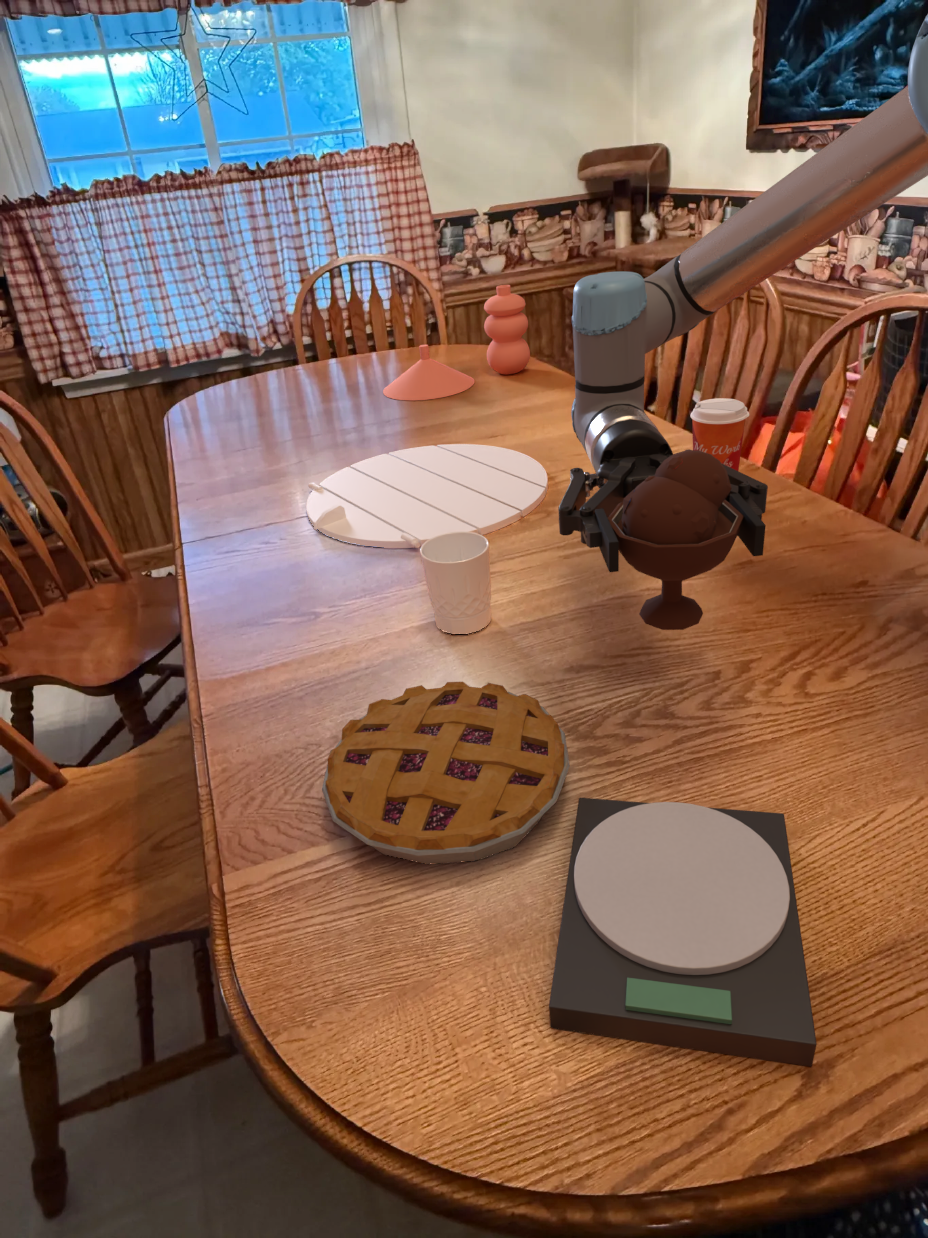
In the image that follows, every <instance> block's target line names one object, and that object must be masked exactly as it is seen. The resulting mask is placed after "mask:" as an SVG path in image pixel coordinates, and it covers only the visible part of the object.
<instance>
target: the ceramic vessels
mask: <svg viewBox="0 0 928 1238" xmlns="http://www.w3.org/2000/svg"><path fill="white" fill-rule="evenodd" d="M495 288H496V289H495V290H496V294H495V295H493V296H491V297H489V298H488V299H487V300H486V301H485V302H484V306H483V310H484V311H485V312H486V314H487V315H488V316H487V317H486V319H485V320H484V325H483V328H484V332H485V334H486V336H487V337H489V338H490V339H492V340H491V342H490V343H489V345H488V346H487V350H486V360H487V363H488V365H489V367H490V368H491V369H492V370H493V371H495V373H498V374H499V375H514V374H517V373H520V372H521V371H522V370H523V369H524V368H526V366H527V365H528V363H529V362H530V358H531V350H530V347H529V344H528V342H527V341H526V340H525V339H524V338H523V335H524V334H525V333H526V332H527V330H528V328H529V319H528V317H527V315H526V314H525V313H523V312H522V311H524V309H525V306H526V305H527V304H526V300H525V298H523V296H521V295H520V294H516V293H512V291H511V285H510V284H501V285H497V286H496V287H495ZM418 348H419V349H418V351H419V355H420V359H419V360H418V361H417V362H415V363H414V364H413V365H412V366H410V367H409V368H408V369H407V370H405V371H404V372H403V373H402V374H399V376H398V377H397V378H395V379H394V380H393V381H392V382H390V383H389V384H387V386H385V387H384V389H383V391H382V393H383V395H384V396H385V397H387V398H389V399H393V400H397V401H425V400H426V401H427V400H436V399H441V398H446V397H450V396H453V395H456V394H460V393H462V392H464V391H467V390H469V389H470V388H472V387H473V386H474V384H475V383H476V382H475V379H474V378H473V377H471V376H470V375H467V374H465V373H463V372H461V371H459V370H457V369H455V368H453V367H451V366H448V365H446V364H444V363H442V362H440V361H437V360H435V359H433V358H431V357H430V348H429V344H420V345H419V346H418Z"/></svg>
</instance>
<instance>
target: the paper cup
mask: <svg viewBox="0 0 928 1238" xmlns="http://www.w3.org/2000/svg"><path fill="white" fill-rule="evenodd" d="M689 415H690V418H691V420H692V450H699V451H702V452H705V453H708V454H711V455H712V456H714V457H715V458H716V459H718V460H719V461H720V462H721V463H722V464H724V465H726V466H728V467H730V468H732V469H735V470H737V471H739V470H740V462H741V455H742V448H743V440H744V432H745V426H746V419H747V418H748V417H750V412H749V411H748V407H747V406H745V403H744V402H743V401H740V400H738V399H734V398H727V397H726V398H725V397H724V398H723V397H721V398H718V397H717V398H709V399H703V400H701V401H698V402H696V404H695V406H694V408H693V410H692V411H691V412H690V414H689Z"/></svg>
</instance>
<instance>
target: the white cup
mask: <svg viewBox="0 0 928 1238" xmlns="http://www.w3.org/2000/svg"><path fill="white" fill-rule="evenodd" d="M419 548H420V549H419V554H420V559H421V564H422V568H423V573H424V578H425V583H426V584H425V585H426V589H427V592H428V593H427V594H428V598H429V601H430V605H431V607H432V612H433V617H434V621H435V622H434V623H435V627H437V626H438V627H439V628H440V629H441V630H444V631H447V632H450V633H455V634H459V633H460V634H466V633H470V632H476V631H478V630H480V629H482V628H484V627H485V626H487V625H489V624H490V622H491V621H492V605H491V604H492V602H491V600H492V577H491V560H490V559H491V558H490V542H489V540H488V538H486V537H485V536H484V535H480V534H477V533H473V532H450V533H445V534H441V535H438V536H435V537H433V538H431V539H429V540H428V541H426V542H425V543H424V544H423V545H422V546H420V547H419ZM438 627H437V628H438ZM487 627H488V626H487ZM439 628H438V629H439ZM485 628H486V627H485ZM485 628H484V629H485ZM440 629H439V630H440ZM441 630H440V631H441ZM482 630H483V629H482ZM480 631H481V630H480ZM476 633H477V632H476Z"/></svg>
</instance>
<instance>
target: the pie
mask: <svg viewBox="0 0 928 1238" xmlns="http://www.w3.org/2000/svg"><path fill="white" fill-rule="evenodd" d="M569 769H570V760H569V751H568V746H567V739H566V733H565V731H563V729H562V728H561V726H559V724H558V723H557V721H556V719H554V717H553V716H552V715H551V714H550V713H549V712H548V711H547V710H546V709H545V708H544V707H543V706H542V705H541V703H540V702H539V699H537V698H535V697H533V696H530V695H528V694H526V693H522V694H519V695H517V694H515V693H513V692H510V691H508V690H507V689H506V688H505V686H504V685H503V684H498V683H497V684H496V683H491V682H488V683H486V684H485V685H483V686H482V687H476V686H470V685H468V684H467V683H466V682H464V681H446V683H444V685H443V686H441V687H435V688H425V687H424V686H423V684H421V685H416V686H412V687H408V688H405V689H404V691H403V693H402V695H400V696H398V697H397V696H396V697H395V698H392V699H386V698H381V699H379V700H376V701H373V702H370V703H369V704H368V707H367V711H366V714H365V715H363V716H362V717H360V718H358V719H350V720H349V721H348V722H347V723H346V724H345V726H343V728H342V729H341V739H340V740H339V741H338V743H337V744H336V745H335V747H334V748H332V749H331V750H330V752H329V754H328V757H327V764H326V770H325V772H324V773H325V774H324V778H323V781H322V787H321V791H322V794H323V797H324V800H325V803H326V805H327V808H328V811H329V813H330V817H331V820H332V821H333V823H335V824H336V825H338V826H339V827H341V828H342V829H344V830H345V831H346V832H348V833H350V834H351V835H352V836H354V837H355V838H357V839H358V840H360V841H362V843H364V844H365V845H368V846H370V847H371V848H373V849H374V848H375V849H374V850H376V851H377V852H379V853H381V854H382V855H383V856H387V855H389V856H388V857H391V856H394V857H393V858H396V857H398V858H397V859H400V858H403V859H402V860H405V859H408V860H407V861H409V860H413V861H412V862H414V861H417V862H416V863H418V862H421V863H420V864H423V863H426V864H425V865H427V864H429V865H431V864H430V863H443V864H448V863H447V862H457V863H462V862H461V861H471V862H475V861H474V860H478V861H480V860H482V859H481V858H483V859H485V858H484V857H486V858H488V857H487V856H489V857H491V856H490V855H492V854H494V855H496V854H495V853H497V854H499V853H498V852H500V853H502V852H501V851H503V852H505V851H504V850H506V849H508V850H510V849H509V848H511V849H514V848H515V847H516V846H517V845H518V844H520V842H521V841H522V840H523V839H524V838H525V837H526V836H528V834H529V833H530V832H531V831H532V830H533V829H534V828H535V827H536V826H537V825H538V824H539V823H540V821H541V819H542V817H543V816H544V814H545V813H547V812H548V811H549V809H551V808H552V807H553V806H554V805H555V804H556V803H557V801H558V799H559V795H560V794H561V790H562V788H563V785H564V782H565V780H566V777H567V774H568V772H569ZM537 823H538V824H537ZM536 824H537V825H536ZM535 825H536V826H535ZM534 826H535V827H534ZM533 827H534V828H533ZM532 828H533V829H532ZM531 829H532V830H531ZM530 830H531V831H530ZM529 831H530V832H529ZM528 832H529V833H528ZM527 833H528V834H527ZM525 835H526V836H525ZM524 836H525V837H524ZM523 837H524V838H523ZM513 847H514V848H513ZM506 851H507V850H506ZM492 856H493V855H492ZM479 859H480V860H479Z"/></svg>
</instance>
